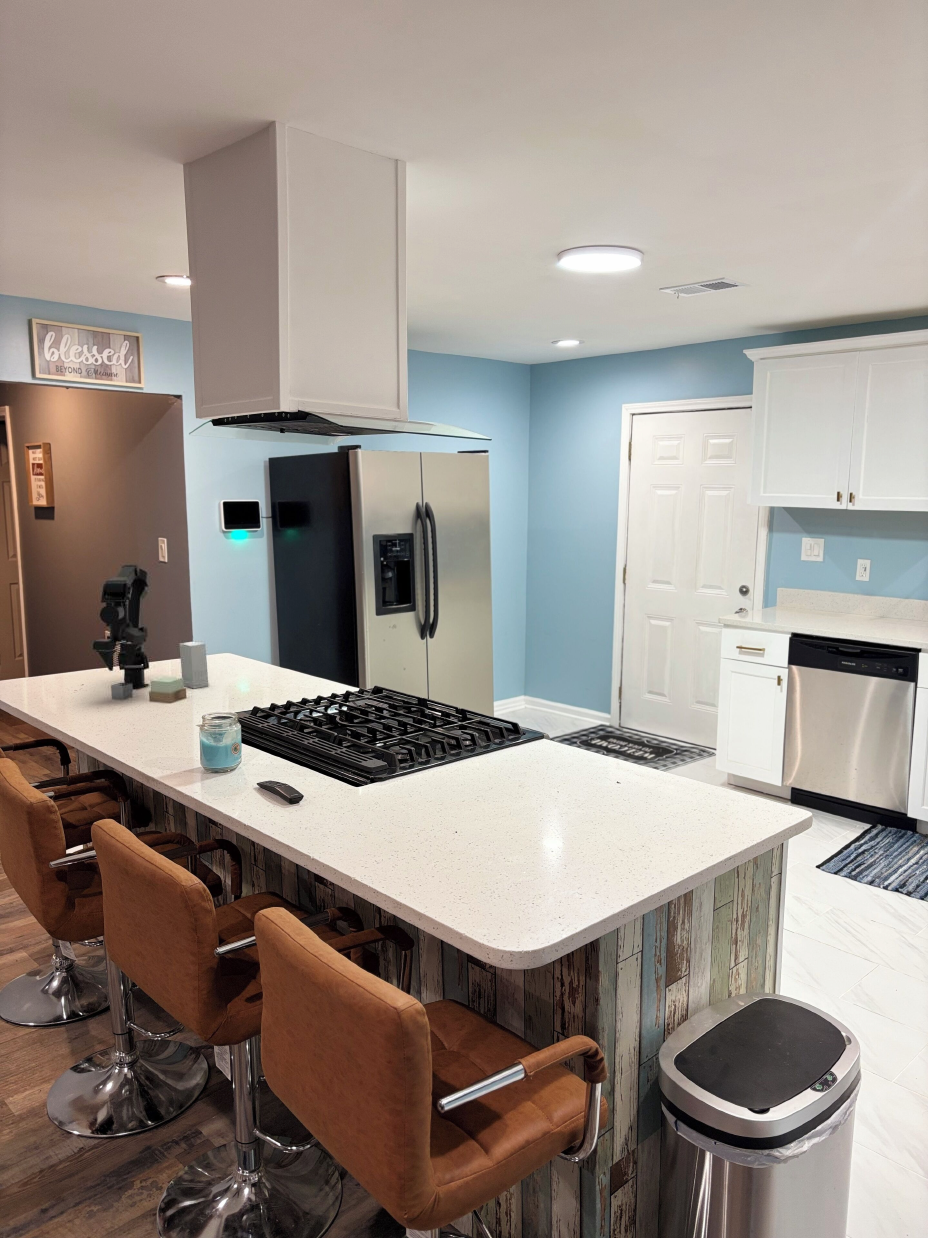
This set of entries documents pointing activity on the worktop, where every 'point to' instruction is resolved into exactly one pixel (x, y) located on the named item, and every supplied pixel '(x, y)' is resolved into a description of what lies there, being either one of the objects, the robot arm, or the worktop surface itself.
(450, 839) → the worktop surface
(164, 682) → the top block
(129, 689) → the cube
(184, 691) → the base block
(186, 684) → the skincare box
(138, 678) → the robot arm
